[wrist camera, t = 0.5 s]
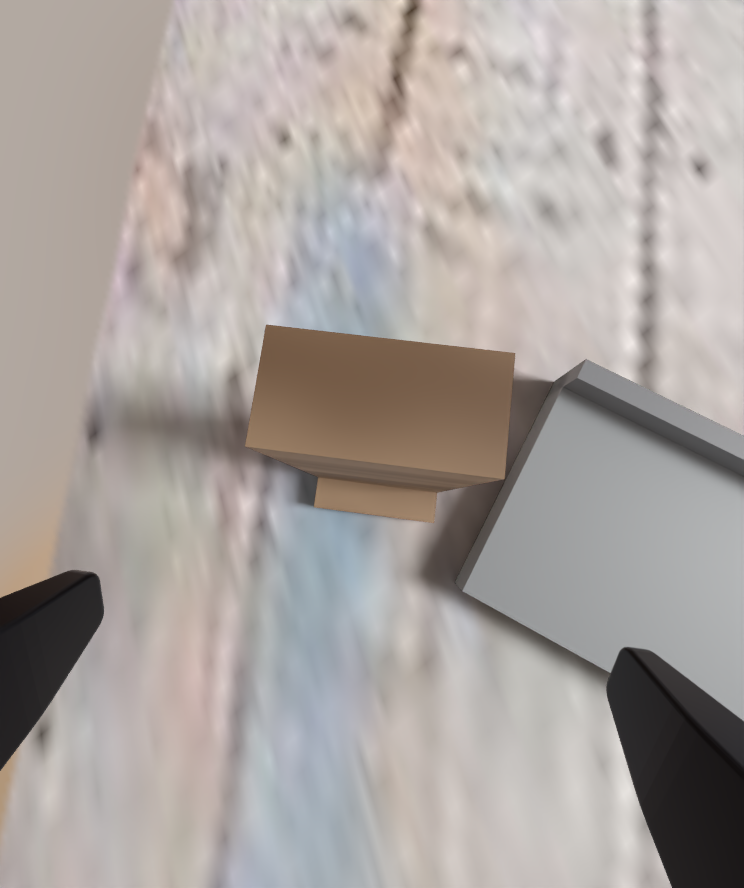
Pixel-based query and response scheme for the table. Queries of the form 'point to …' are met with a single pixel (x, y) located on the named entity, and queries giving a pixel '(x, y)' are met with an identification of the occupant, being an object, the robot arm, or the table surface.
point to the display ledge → (622, 532)
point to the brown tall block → (381, 417)
